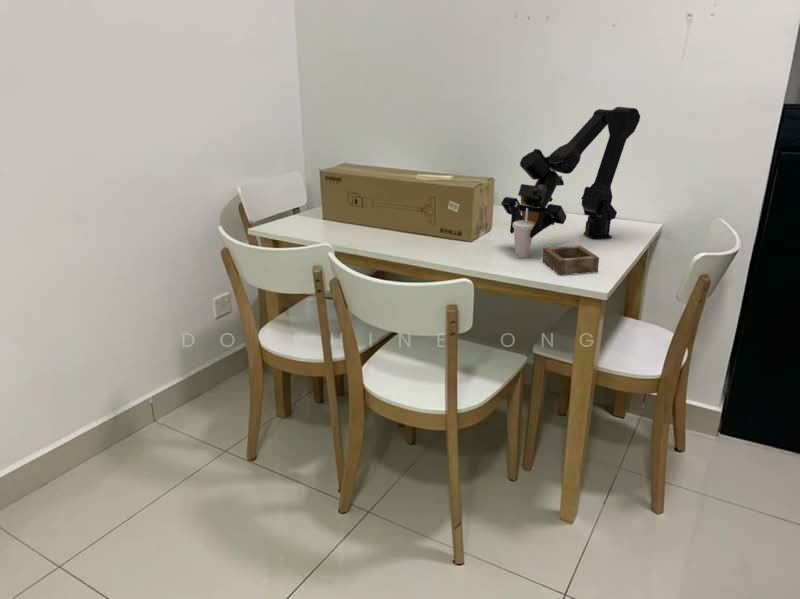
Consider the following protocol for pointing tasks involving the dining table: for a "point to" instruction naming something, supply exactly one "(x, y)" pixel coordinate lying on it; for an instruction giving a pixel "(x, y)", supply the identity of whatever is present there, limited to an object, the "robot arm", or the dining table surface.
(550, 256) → the socket block
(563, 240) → the dining table surface
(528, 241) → the smoothie
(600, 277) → the dining table surface
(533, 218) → the disposable coffee cup
